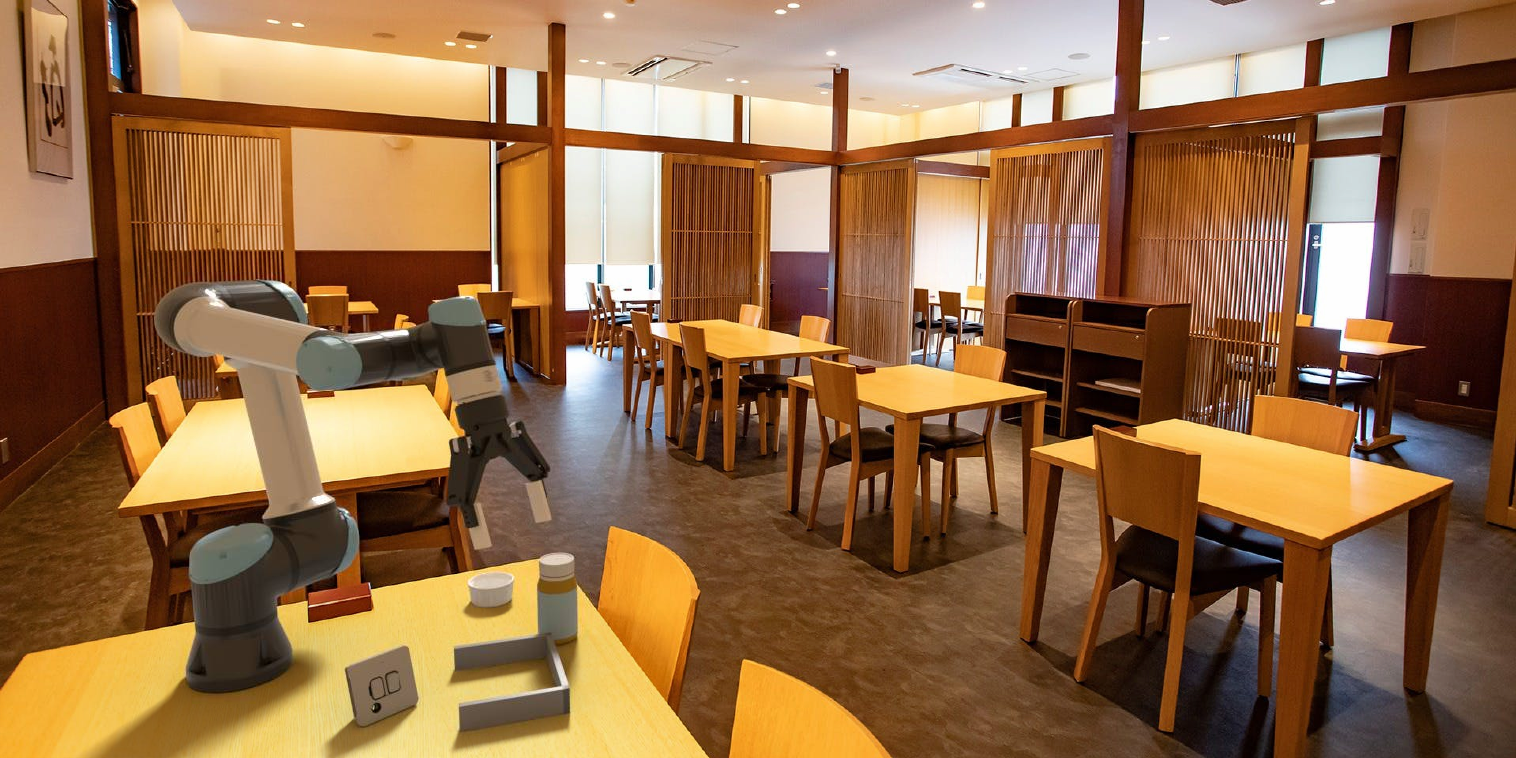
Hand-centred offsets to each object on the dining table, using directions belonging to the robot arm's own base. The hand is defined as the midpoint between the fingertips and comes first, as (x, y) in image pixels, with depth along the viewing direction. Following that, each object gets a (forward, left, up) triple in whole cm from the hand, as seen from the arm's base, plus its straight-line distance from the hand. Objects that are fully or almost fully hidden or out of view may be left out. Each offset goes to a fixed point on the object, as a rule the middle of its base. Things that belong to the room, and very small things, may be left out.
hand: (515, 534), depth 130 cm
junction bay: (-4, -1, -27) cm, 28 cm away
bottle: (-20, +9, -27) cm, 35 cm away
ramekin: (-41, -1, -28) cm, 49 cm away
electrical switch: (-4, -20, -27) cm, 34 cm away
